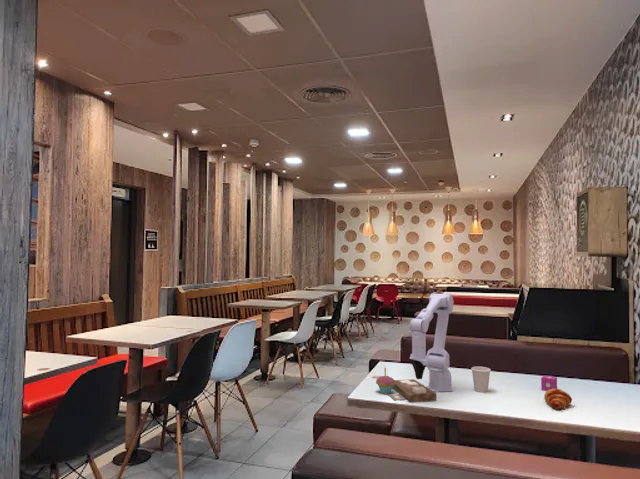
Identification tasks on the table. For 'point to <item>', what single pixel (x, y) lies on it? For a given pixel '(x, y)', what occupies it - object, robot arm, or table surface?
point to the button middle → (411, 384)
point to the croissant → (557, 398)
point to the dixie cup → (481, 378)
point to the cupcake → (385, 383)
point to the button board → (411, 395)
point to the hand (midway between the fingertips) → (419, 378)
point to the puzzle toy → (548, 383)
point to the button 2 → (418, 390)
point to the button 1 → (404, 381)
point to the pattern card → (396, 397)
